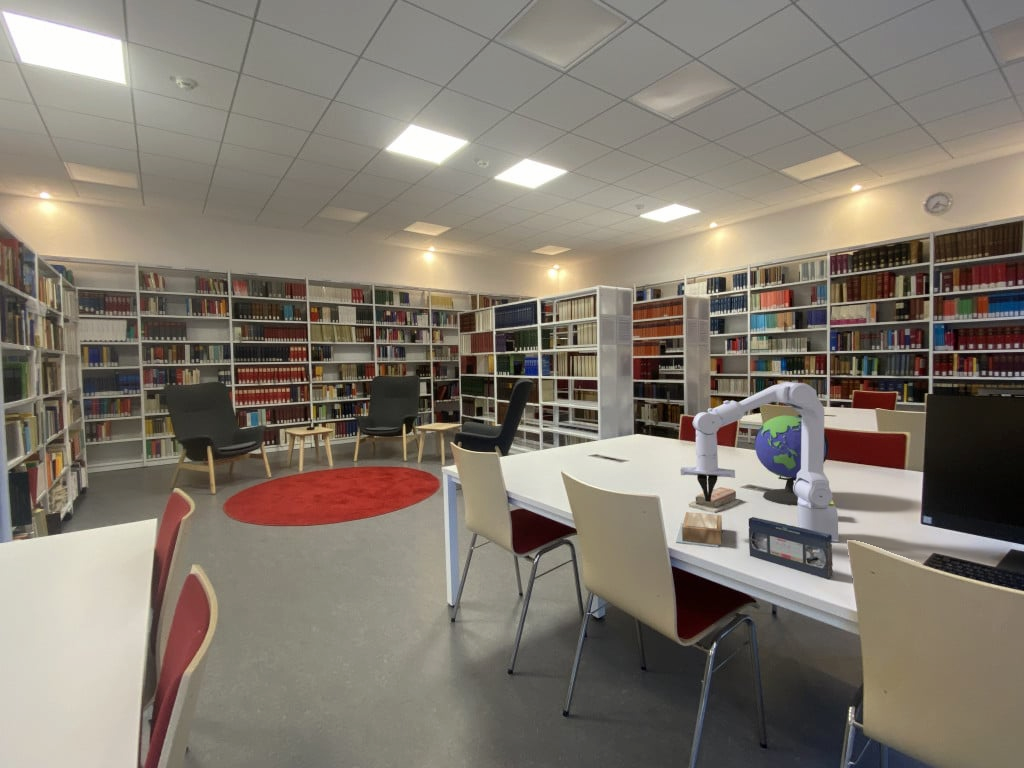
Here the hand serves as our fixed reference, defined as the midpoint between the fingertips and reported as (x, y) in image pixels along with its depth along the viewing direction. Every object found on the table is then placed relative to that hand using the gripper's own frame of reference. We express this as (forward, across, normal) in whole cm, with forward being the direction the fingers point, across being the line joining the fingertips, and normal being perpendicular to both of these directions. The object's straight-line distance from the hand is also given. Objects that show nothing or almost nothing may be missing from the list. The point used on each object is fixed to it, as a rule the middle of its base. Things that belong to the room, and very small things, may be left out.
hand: (708, 500), depth 137 cm
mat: (+10, +3, 0) cm, 11 cm away
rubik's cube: (+11, -32, -27) cm, 43 cm away
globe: (+11, -25, -47) cm, 54 cm away
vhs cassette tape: (+11, -19, +15) cm, 26 cm away
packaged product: (+11, -1, -32) cm, 34 cm away
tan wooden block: (+8, -3, 0) cm, 9 cm away
